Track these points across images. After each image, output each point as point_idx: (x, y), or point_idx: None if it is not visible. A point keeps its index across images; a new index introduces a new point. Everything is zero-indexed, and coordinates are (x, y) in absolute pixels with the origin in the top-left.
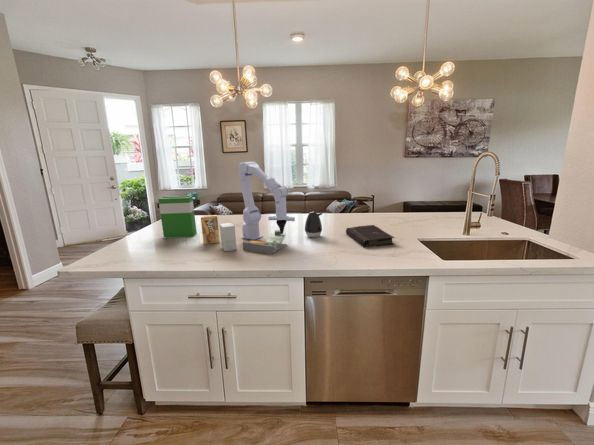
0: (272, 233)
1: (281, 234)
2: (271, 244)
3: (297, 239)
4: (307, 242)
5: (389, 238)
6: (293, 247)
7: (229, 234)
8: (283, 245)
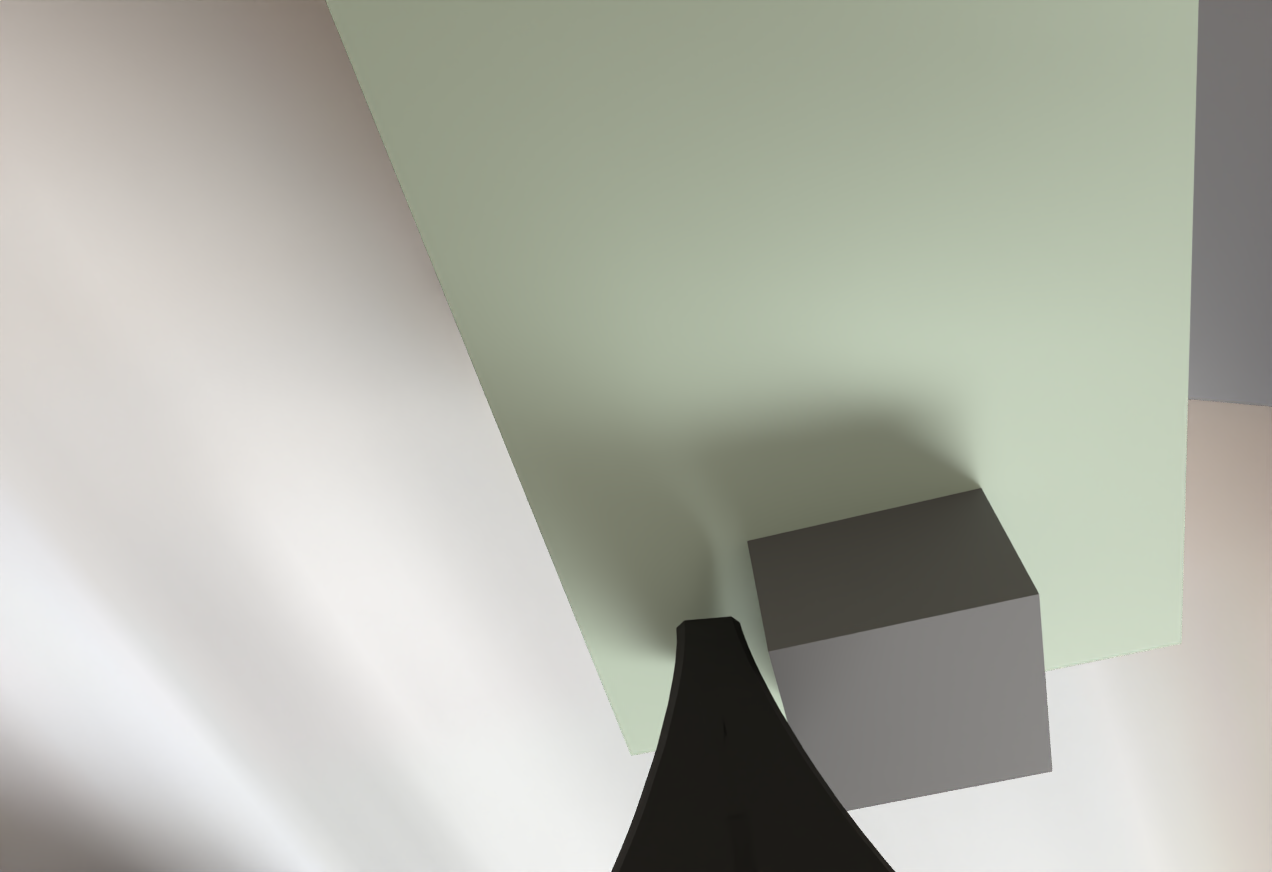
0: (1137, 652)
1: None
2: None
3: (421, 771)
4: (46, 663)
5: None
6: (144, 183)
7: None
8: None
